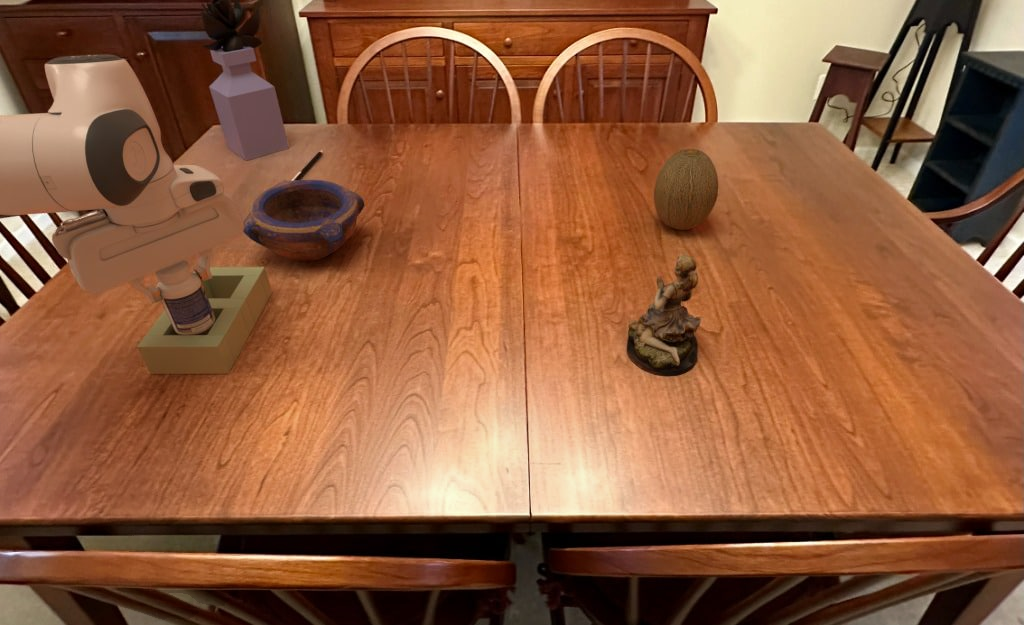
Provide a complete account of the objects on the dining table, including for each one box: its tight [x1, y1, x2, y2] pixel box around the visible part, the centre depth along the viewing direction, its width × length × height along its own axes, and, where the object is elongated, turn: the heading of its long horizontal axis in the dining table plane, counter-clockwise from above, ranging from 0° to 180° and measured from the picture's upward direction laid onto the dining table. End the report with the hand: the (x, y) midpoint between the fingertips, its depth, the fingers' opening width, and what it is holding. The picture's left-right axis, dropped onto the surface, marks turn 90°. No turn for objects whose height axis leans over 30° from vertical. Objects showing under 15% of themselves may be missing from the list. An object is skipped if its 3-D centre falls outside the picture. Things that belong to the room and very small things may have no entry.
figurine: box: [626, 253, 702, 377], centre depth 83 cm, size 12×11×15 cm
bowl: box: [243, 179, 366, 262], centre depth 106 cm, size 18×18×10 cm
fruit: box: [653, 148, 719, 231], centre depth 110 cm, size 11×11×15 cm
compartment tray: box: [136, 266, 273, 375], centre depth 89 cm, size 19×11×5 cm, turn 0°
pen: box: [290, 149, 324, 181], centre depth 135 cm, size 1×19×1 cm, turn 173°
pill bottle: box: [154, 259, 215, 335], centre depth 82 cm, size 5×5×10 cm
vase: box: [200, 0, 290, 162], centre depth 135 cm, size 14×12×35 cm
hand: (181, 289), depth 81 cm, fingers closed on pill bottle, 5 cm apart
